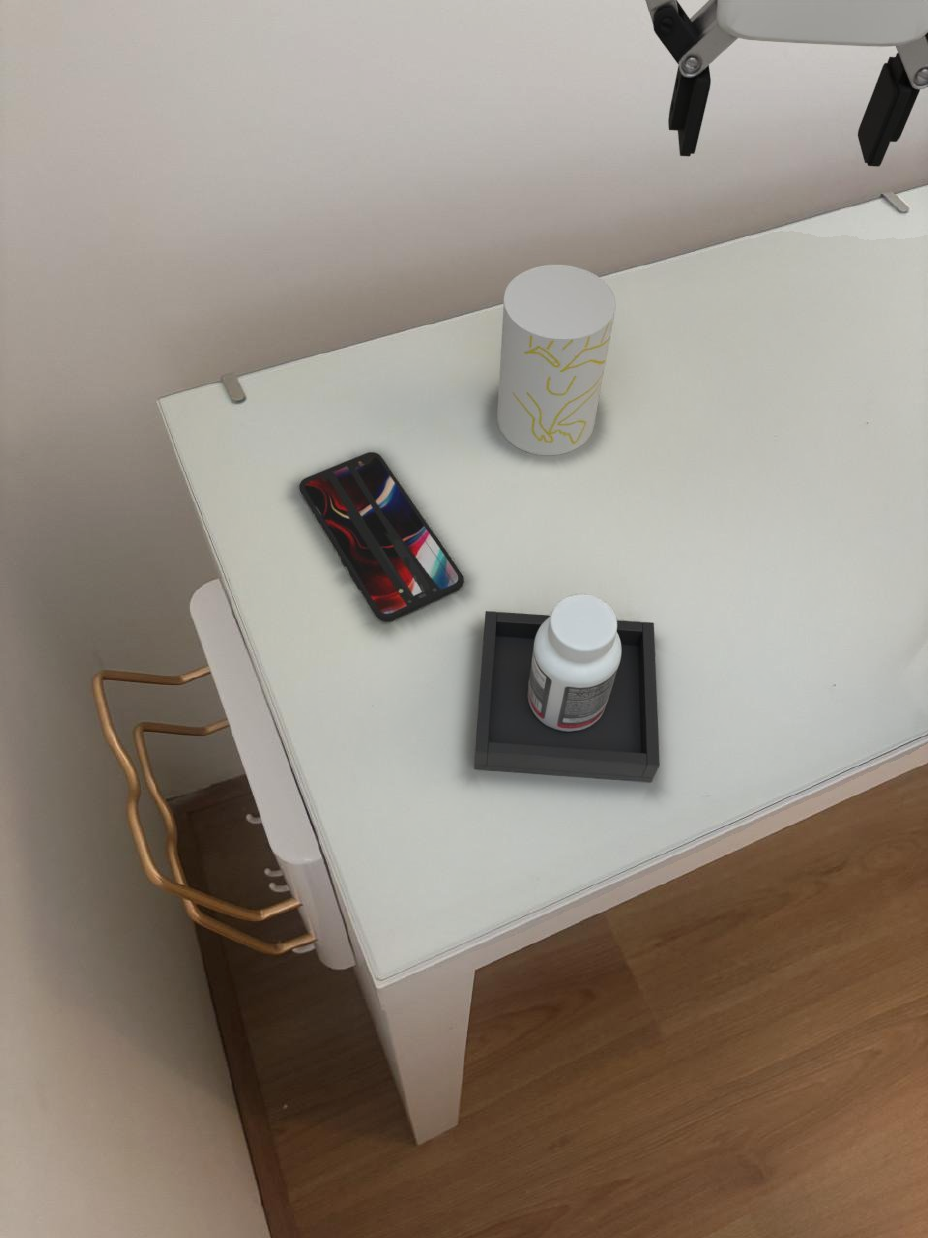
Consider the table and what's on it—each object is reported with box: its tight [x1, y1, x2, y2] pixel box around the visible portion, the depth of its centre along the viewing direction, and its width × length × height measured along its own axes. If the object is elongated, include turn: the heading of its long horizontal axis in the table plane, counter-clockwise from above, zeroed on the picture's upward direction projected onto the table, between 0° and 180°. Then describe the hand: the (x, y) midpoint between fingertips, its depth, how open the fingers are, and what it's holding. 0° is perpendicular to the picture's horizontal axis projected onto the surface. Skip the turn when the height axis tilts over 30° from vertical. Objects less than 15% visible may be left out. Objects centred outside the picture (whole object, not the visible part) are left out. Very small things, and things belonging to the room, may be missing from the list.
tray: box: [473, 610, 661, 783], centre depth 61 cm, size 12×11×3 cm
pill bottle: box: [528, 593, 621, 732], centre depth 58 cm, size 5×5×10 cm
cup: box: [496, 264, 617, 456], centre depth 72 cm, size 8×8×12 cm
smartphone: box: [298, 451, 465, 623], centre depth 70 cm, size 7×1×15 cm
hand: (775, 146), depth 49 cm, fingers open, 9 cm apart
